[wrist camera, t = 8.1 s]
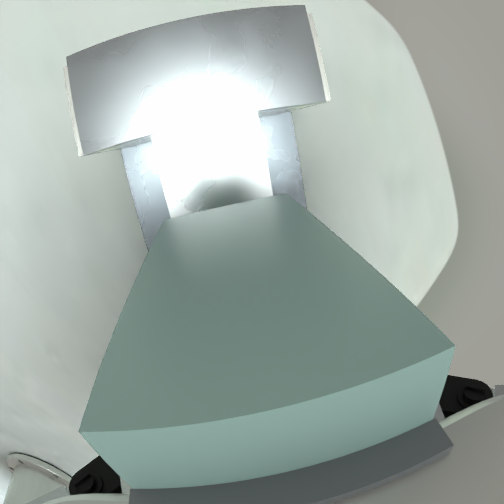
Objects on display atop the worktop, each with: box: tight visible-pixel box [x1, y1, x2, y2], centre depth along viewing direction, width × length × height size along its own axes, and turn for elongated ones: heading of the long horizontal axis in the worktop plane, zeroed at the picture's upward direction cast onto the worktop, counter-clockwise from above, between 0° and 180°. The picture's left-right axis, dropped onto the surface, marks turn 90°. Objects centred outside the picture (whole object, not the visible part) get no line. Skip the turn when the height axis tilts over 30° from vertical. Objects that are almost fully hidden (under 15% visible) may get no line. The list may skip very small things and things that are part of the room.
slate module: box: [79, 193, 455, 504], centre depth 8 cm, size 5×9×10 cm, turn 11°
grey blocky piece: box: [63, 5, 331, 252], centre depth 16 cm, size 24×10×10 cm, turn 10°
